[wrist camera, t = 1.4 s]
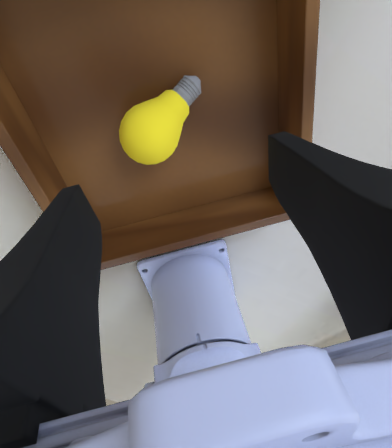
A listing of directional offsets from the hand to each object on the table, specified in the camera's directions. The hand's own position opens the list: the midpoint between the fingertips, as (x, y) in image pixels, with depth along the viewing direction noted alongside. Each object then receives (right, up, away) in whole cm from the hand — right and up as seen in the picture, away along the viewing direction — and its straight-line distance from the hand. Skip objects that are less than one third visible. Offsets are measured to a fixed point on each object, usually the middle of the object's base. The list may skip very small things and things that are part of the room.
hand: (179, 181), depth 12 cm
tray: (-2, +6, +8) cm, 10 cm away
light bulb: (-2, +6, +7) cm, 9 cm away
